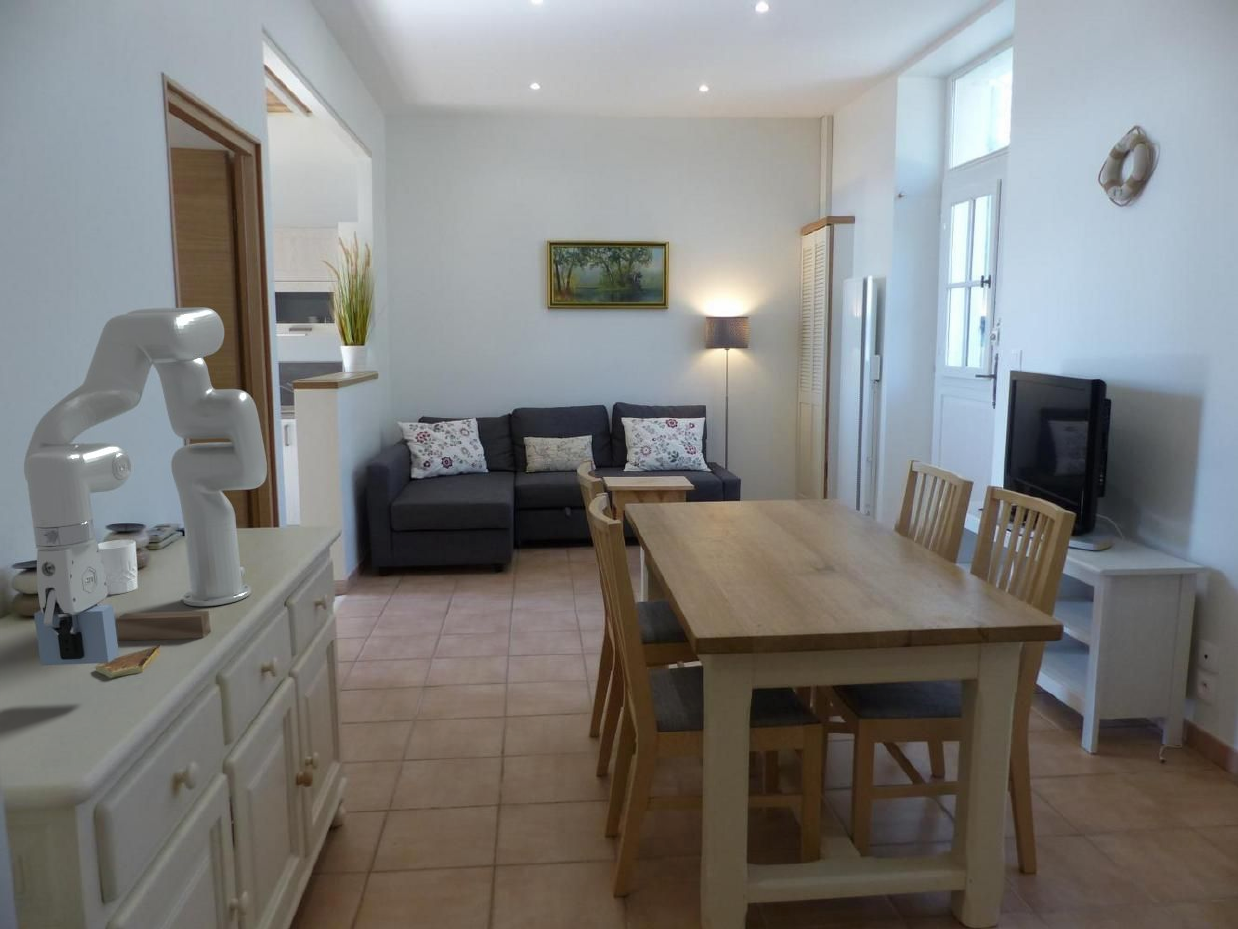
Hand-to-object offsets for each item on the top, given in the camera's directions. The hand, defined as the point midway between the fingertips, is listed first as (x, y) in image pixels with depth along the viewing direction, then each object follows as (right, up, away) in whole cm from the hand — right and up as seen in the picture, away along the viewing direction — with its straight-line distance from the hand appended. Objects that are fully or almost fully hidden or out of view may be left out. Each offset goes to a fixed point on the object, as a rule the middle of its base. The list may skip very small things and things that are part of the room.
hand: (79, 653), depth 137 cm
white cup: (-24, +2, +56) cm, 61 cm away
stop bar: (0, -2, +26) cm, 26 cm away
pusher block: (0, -1, 0) cm, 1 cm away
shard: (0, -5, +13) cm, 14 cm away
